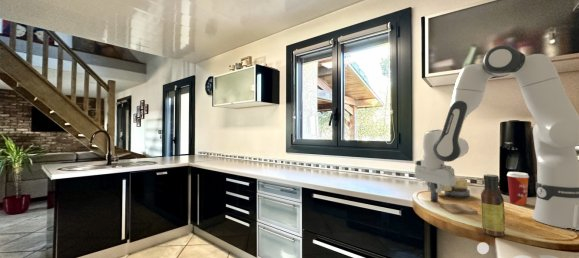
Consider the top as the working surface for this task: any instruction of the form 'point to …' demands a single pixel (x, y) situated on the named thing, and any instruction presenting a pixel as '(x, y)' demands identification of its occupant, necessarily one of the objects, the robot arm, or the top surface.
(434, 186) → the steel cylinder
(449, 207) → the wooden mat
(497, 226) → the sauce bottle
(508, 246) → the top surface
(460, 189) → the chuck collar
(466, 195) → the chuck base
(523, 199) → the paper cup
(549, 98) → the robot arm
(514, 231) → the top surface
